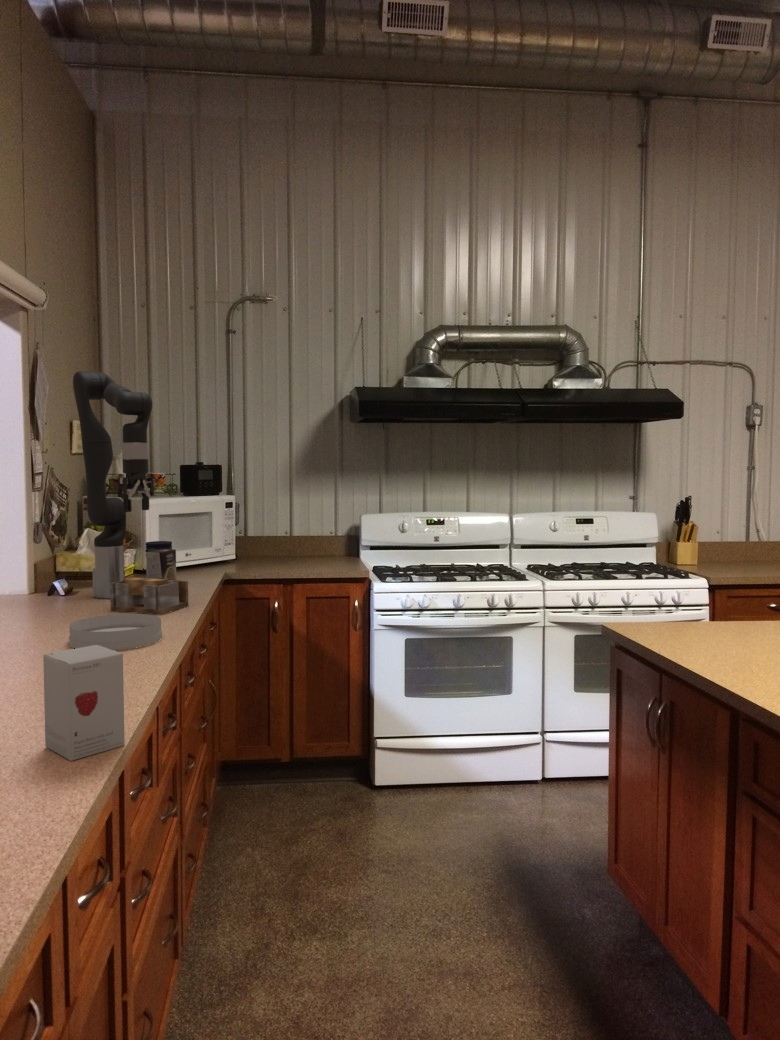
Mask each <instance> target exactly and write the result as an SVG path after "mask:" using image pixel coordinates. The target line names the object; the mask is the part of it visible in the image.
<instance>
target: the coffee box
mask: <svg viewBox="0 0 780 1040" xmlns="http://www.w3.org/2000/svg"><path fill="white" fill-rule="evenodd" d="M145 563H146V565H145V576H146V577H145V578H151V579H167V580H177V550H176V549H173V548H172V549H164V550H154V551H149V552H145Z"/></svg>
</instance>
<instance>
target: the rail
mask: <svg viewBox="0 0 780 1040" xmlns="http://www.w3.org/2000/svg"><path fill="white" fill-rule="evenodd" d="M123 584H129V594H132V595H144V585H156V586H157V596H158V586H161V585H165V584H167V579H151V578H146V577H126V578H125V579H123Z"/></svg>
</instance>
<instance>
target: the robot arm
mask: <svg viewBox="0 0 780 1040" xmlns="http://www.w3.org/2000/svg"><path fill="white" fill-rule="evenodd" d="M72 388H73V395H74V398H75V399H74V400H75V403H76V409H77V414H78V415H77V416H78V420H79V425H80V435H81V436H80V437H81V445H82V447H81V448H82V454H83V462H84V468H85V478H86V508H87V516H88V519H89V520H90V523H91V524H92V525H94V526H97V527H103V530H102V532H101V533H99V534H98V535H97V536H95V537H94V539H93V540H94V541H93V544H94V545H93V547H94V548H93V550H94V568H92V570H91V571H92V594H93V595H92V597H93V598H98V599H110V583H114V582H118V581H123V579H126V578H125V557H124V556H125V552H124V551H125V548H124V547H125V546H124V545H125V544H124V540H125V538H126V533H127V529H126V528H127V513H131V512H132V510H133V509H132V499H131V498H132V496H133V495H134V494H135V493H136V492H137V493H138V494H140V496H141V510H142V511H149V510H150V498H151V497H152V496H154V495H155V493H154V492H155V486H154V477H153V476H146V475H147V474H148V473H149V471H150V469H149V468H150V466H149V447H148V425H149V421H150V418H151V413H152V409H153V400H152V398H151V396H150V394H148V393H146V392H141V391H140V392H138V391H137V392H136V391H132V390H131V389H129V388H127V387H125V386H122V385H120V384H118V383H117V382H116V381H114V379H112V378H111V376H109V375H108V374H107V373H104V372H101V371H88V370H87V371H85V370H84V371H83V370H82V371H79V370H78V371H76V372H75V373H74V374H73V378H72ZM91 400H93V401H100V400H105V402H106V403H107V404H108V405H109V406H111V407H113V408H115V409H116V412H117V413H119V414H120V415H123V416H124V415H125V416H137V417H136V418H135V421H133V422H130V423H128V422H127V423H125V424H124V425H122V447H121V449H122V450H121V452H122V453H121V455H122V456H121V458H122V459H121V461H122V473H123V475H124V474H125V476H124V477H121V476H120V477H118V478H117V497H107V494H106V480H107V477H108V474H109V471H110V469H111V466H112V464H113V460H114V452H113V451H114V450H113V443H112V438H111V435H110V434H109V432H108V431H107V430H106V428H105V427H104V426H103V424H102V423H101V422H100V421H99V419H98V418H97V417H96V415H95V414H94V411H93V409H92V407H91V403H90V401H91ZM120 498H121V499H120Z"/></svg>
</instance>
